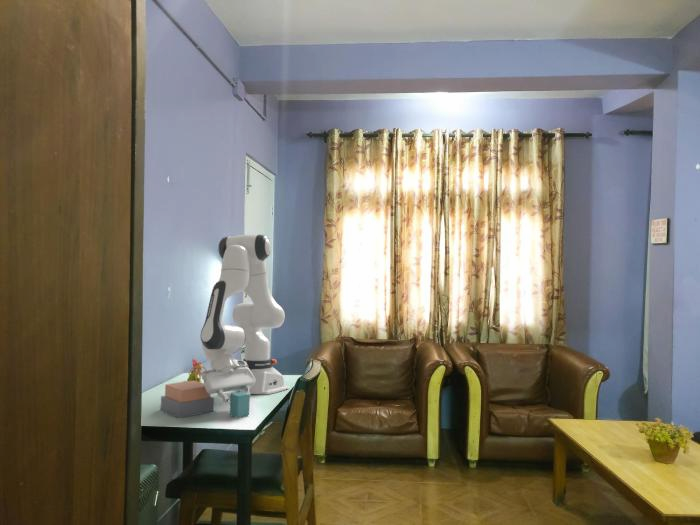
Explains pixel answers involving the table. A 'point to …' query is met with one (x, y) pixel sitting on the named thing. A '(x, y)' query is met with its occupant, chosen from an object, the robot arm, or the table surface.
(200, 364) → the figurine
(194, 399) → the brick tower
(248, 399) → the teal brick
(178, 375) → the table surface
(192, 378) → the bird rattle
